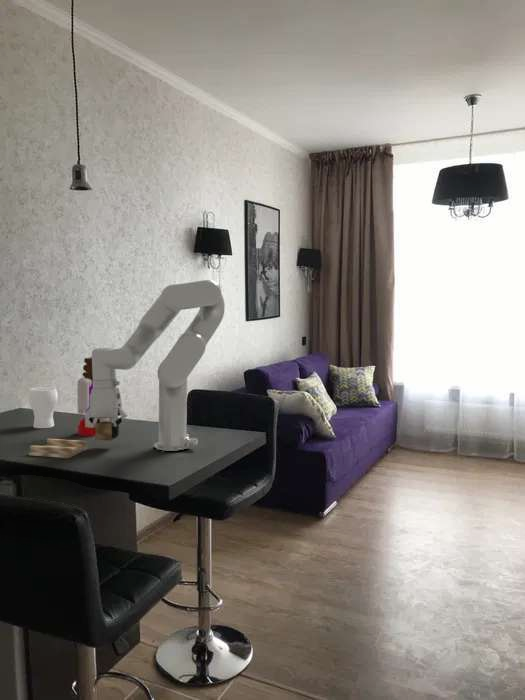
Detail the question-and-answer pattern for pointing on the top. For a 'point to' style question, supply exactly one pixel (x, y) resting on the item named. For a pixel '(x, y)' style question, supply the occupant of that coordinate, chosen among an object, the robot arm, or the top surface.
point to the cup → (43, 406)
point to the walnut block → (104, 430)
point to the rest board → (59, 448)
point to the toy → (86, 399)
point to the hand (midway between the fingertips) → (106, 436)
